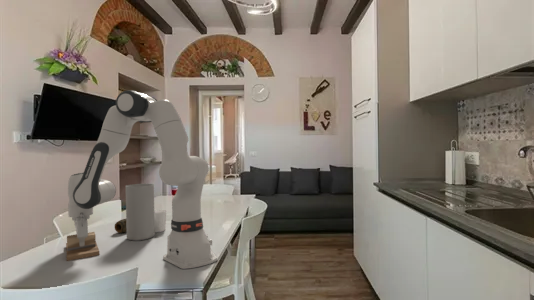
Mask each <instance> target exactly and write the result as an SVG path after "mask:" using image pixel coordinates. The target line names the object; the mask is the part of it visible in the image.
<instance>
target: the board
mask: <svg viewBox="0 0 534 300" xmlns="http://www.w3.org/2000/svg"><path fill="white" fill-rule="evenodd" d="M65 248H66V262H70V261H73V260H79V259H83V258H84V259H85V258H89V257H95V256H100V249H99V246H98V244H97V242H96V246H94V247H88V248H82V249H76V250H70V251H67V242H66V243H65Z"/></svg>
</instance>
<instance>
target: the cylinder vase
mask: <svg viewBox="0 0 534 300" xmlns="http://www.w3.org/2000/svg"><path fill="white" fill-rule="evenodd" d="M154 210H155V184H153V183H136V184H135V183H134V184H128V185H127V184H126V185H125V219H126V228H127V232H126V238H127V240H128V241H144V240H148V239H151V238H153V237H154V236H155V234H156V232H155V218H154Z"/></svg>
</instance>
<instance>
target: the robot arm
mask: <svg viewBox="0 0 534 300" xmlns="http://www.w3.org/2000/svg"><path fill="white" fill-rule="evenodd" d="M137 122H139V123H140V124H141V123H143V124H144V123H151V124H152V127H153V129H154V131H155V134H156V138H157V140H158V142H159V144H160V148H161V157H162V158H161V164H160V166H159V170H158V176H159V178H160V180H161V181H162V182H163V183H164V185H168V186H173V187H177V188H176V189H177V190H176V191H175V194H174V195H173V198H172V200H171V217H172V218H171V221H170V229H171V231H170V233H169V234H168V236H167V245H166V246H167V247H166V254H164V255H163V258H162V259H163V260H164V261H166V262H167V263H170V264H172V265H173V266H175V267H178V268H180V269H182V270H183V269H193V268H199V267H204V266H207V265H211V264H212V263H215V262H217V261H218V257H217V256H216V254H215V253H214V251H213V250H212V249H211V246H213V239H209V236H208V234H206V232H205V230H204V222H203V217H202V206H201V205H202V203H201V202H202V201H201V200H202V193H203V188H204V184H205V180H206V177H207V175H208V174H209V170H210V168H209V164H208V162H207V161H206V160H205V158H202V157H199V156H197V155H189V153H188V142H189V136H188V134H187V131H186V129H185V126H184V123H183V121H182V119H181V117H180V114H179V112H178V110H177V109H176V107H175V106H174V103H173V102H171V101H170V100H168V99H156V98H154V97H151V96H149V95H147V94H146V93H142V92H138V91H136V90H129V89H127V90H124V91H121V92H120V93H119V94H118V95H117V96H116V99H115V105H113V106H111V107H110V108H108V110H107V113H106V115H105V117H104V120H103V123H102V127H101V130H100V133H99V136H98V138H97V141H96V143H95V144H94V146H93V148H92V150H91V153H90V155H89V158H88V160H87V162H86V165H85V168H84V170H83V172H78V173H73V174H72V175H70V176H69V177H68V184H67V196H68V207H67V210H68V213H67V215H68V218H71V220H72V221H73V222H74V228H75V232H76V234H77V238H78V239H79V245H80V247H81V246H84V245H85V238H86V237H88V233H89V229H88V228H89V227H88V220H89V219H90V218H91V217H90V216H92V215H93V214H94V208H95V207H97V206H98V205H102V204H104V203H107V202H109V201H111V200H113V198H114V197H115V196H116V193H117V188H116V185H115V184H114V182H112V181H111V180H108V179H104V178H102V177H103V173H104V170H105V167H106V165H107V163H108V162H109V161H110V160H111V159H112V158H113V157H115V156H116V155H118V154H120V153H122V152H123V151H125V150H126V148H127V145H128V144H129V143H130V142H129V141H130V139H131V135H132V129H133V127H134V125H135V124H136V123H137Z"/></svg>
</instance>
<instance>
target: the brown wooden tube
mask: <svg viewBox="0 0 534 300" xmlns="http://www.w3.org/2000/svg"><path fill="white" fill-rule="evenodd" d="M114 230H115V231H116V232H117V233H118V234H123V233H127V228H126V218H123V219H122V218H121V219H120V220H118V221H117V222H115V223H114Z"/></svg>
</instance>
